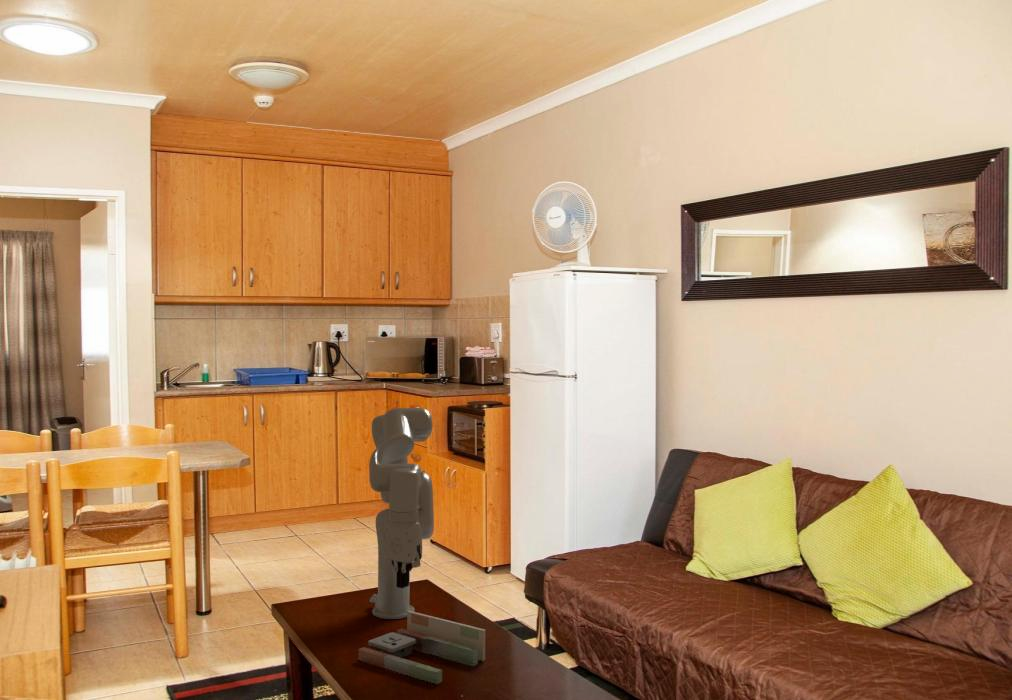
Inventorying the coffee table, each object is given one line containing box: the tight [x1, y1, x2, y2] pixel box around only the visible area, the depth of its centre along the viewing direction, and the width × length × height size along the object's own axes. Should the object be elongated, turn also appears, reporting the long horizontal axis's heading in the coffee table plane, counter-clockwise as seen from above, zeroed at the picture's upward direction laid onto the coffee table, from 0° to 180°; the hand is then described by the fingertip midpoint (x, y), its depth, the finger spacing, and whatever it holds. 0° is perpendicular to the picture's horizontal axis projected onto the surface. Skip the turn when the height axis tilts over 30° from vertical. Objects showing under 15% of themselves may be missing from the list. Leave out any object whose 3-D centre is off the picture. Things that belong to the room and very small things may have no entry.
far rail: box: [396, 627, 479, 667], centre depth 228 cm, size 26×2×4 cm, turn 55°
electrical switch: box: [367, 631, 416, 658], centre depth 227 cm, size 9×5×9 cm
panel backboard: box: [406, 611, 486, 662], centre depth 231 cm, size 26×1×8 cm, turn 55°
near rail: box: [357, 646, 443, 685], centre depth 216 cm, size 26×2×3 cm, turn 55°
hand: (402, 586), depth 225 cm, fingers closed
